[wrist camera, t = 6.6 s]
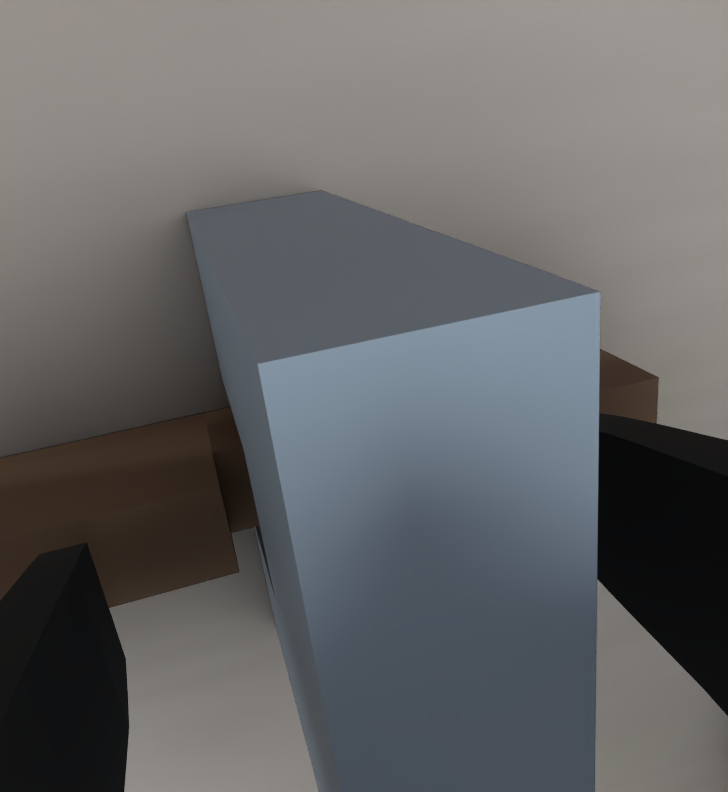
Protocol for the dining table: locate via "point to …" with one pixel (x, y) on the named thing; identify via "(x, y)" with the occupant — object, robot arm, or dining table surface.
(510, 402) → the slim blue-grey slab
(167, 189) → the dining table surface
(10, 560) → the rail
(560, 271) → the dining table surface
